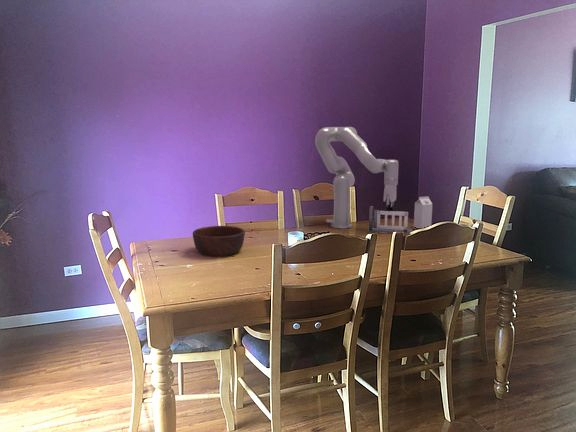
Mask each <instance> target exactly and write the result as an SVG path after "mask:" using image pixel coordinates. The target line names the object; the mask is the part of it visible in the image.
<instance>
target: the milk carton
mask: <svg viewBox="0 0 576 432" xmlns="http://www.w3.org/2000/svg"><path fill="white" fill-rule="evenodd" d="M413 215H414V216H413V228H414V227H416V228H424V227H427V226H430V225H431V226H432V220H433V219H432V217H433V202H432V201H431V199H430V196H419V197H418V199H417V200H416V201H415V202H414V214H413ZM416 228H415V229H416Z"/></svg>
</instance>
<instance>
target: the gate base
mask: <svg viewBox="0 0 576 432" xmlns="http://www.w3.org/2000/svg"><path fill="white" fill-rule="evenodd" d="M368 215H369V216H368V217H369V218H368V227H367V233H368V232H371V234H373V233H374V234H376V233H375V232H378V233H377V234H380V233H379V232H385V233H384V234H389V233H393V232H395V231H397V232H404V233H408V234H407V235H410V234H409V233H410V232H412V231H413V228H407V230H399V229H384V228H373V224H374V206H373V205H371V206H369V214H368ZM403 218H405V216H403ZM386 232H387V233H386ZM413 232H414V231H413Z"/></svg>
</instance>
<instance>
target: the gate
mask: <svg viewBox="0 0 576 432" xmlns="http://www.w3.org/2000/svg"><path fill="white" fill-rule="evenodd" d="M381 215H384V224H383V225H382V224H381ZM388 216H391V225H388ZM395 216H398V217H399V218H398V225H395V218H396V217H395ZM404 217H405V218H404ZM403 218H404V219H403ZM402 222H403V226H402ZM408 222H409V212H408V211H394V210H393V211H387V210H378V209H373V228H384V229H399V230H407V229H408V228H409V227H408V226H409V225H408V224H409V223H408Z"/></svg>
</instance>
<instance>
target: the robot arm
mask: <svg viewBox="0 0 576 432" xmlns="http://www.w3.org/2000/svg"><path fill="white" fill-rule="evenodd" d="M331 142H342V143H343V144H344V145H345V146H346V147H348V148H349V149H350V150H351V151H352V152H353V153H354V155H355V156H356V157H357V158H358V160H359V162H360V163H361V164H362V165H363V166H364V168H366V169H367V170H368V171H369V172H371V173H372V174H378V173H384V179H383V180H384V181H383V182H384V183H383V184H384V190H383V202H384V203H386V211H394V203H395V201H397V186H398V184H399V160H397V159H383V158H376V157H375V156H374V155H373V154H372V153H371V152H370V151H369V149H368V145H367V142H365V140H363V139H362V137H360V136H359V135H358V131H357V130H356V128H355V127H352V126H325V127H322V128H320V129H319V130H318V132H317V133H316V135H315V139H314V143H315V148H316V149H317V152H318V153H319V155H320V157H321V160H322V161H323V164H324V166H325V167H326V169H327V171H328V172H329V173H330V174H335V175H336V176H335V177H334V179H333V182H332V186H333V218H331V219H329V218H327V219H326V220H325V221H326V223H327V224H330V227H331V228H334V229H350V228H353V224H352V223H350V218H351V191H350V188H352V187H353V186H354V184H355V183H356V182H355V180H356V179H355V176H354V174H353V172H352V169H351V167H350V166H349V163H348V162H347V161H346V159H345V158H344V157H342V156H338V155H337V153H336V150H335V149H334V148H333V146H332V145H331Z"/></svg>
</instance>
